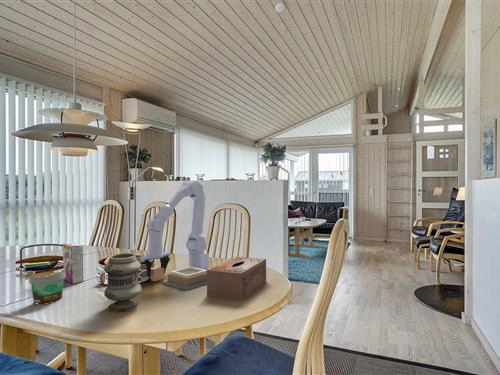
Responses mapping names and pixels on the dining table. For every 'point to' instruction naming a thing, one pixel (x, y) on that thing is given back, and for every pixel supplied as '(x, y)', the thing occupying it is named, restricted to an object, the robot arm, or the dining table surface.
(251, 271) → the tissue box cover
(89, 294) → the dining table surface
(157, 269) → the terracotta cube
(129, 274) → the apothecary jar
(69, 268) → the candy bar box
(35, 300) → the food container
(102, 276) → the roller toy
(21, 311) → the dining table surface
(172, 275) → the build base
